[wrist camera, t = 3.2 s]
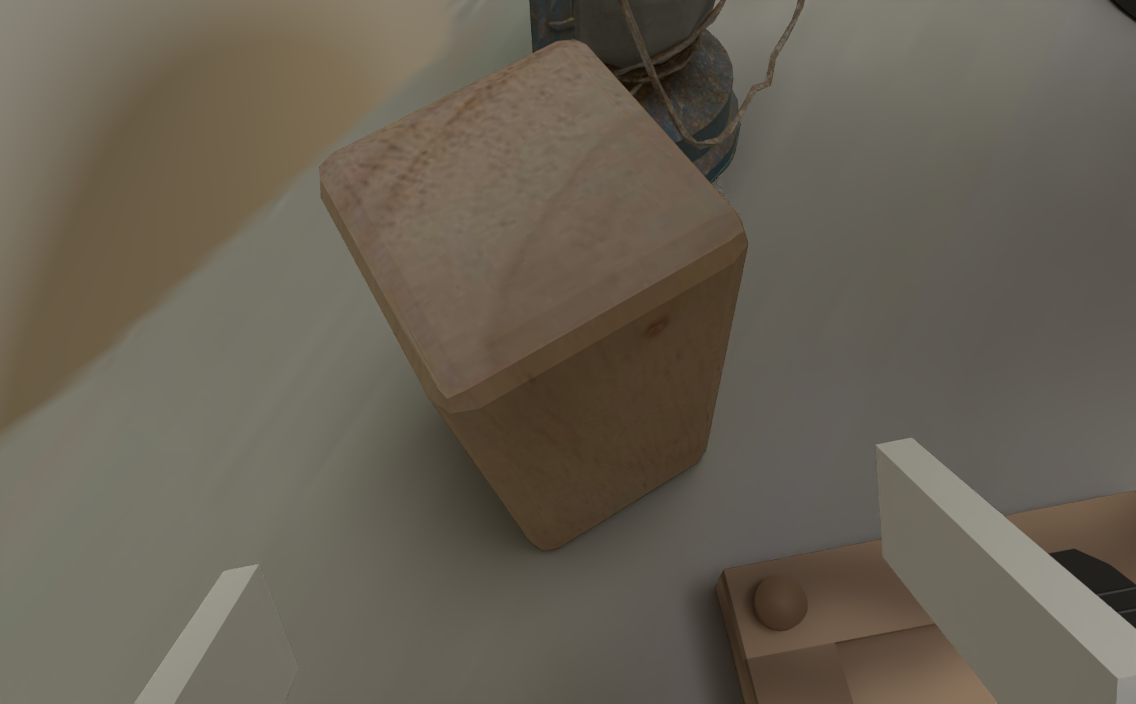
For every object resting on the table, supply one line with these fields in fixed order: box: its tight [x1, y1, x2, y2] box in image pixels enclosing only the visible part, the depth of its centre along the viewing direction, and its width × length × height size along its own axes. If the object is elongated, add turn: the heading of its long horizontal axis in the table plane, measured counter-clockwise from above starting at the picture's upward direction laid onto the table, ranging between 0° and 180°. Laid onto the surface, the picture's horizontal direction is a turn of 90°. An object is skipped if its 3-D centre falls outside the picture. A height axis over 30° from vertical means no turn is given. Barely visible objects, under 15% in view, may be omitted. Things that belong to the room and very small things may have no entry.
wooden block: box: [319, 39, 748, 551], centre depth 30 cm, size 10×10×20 cm
